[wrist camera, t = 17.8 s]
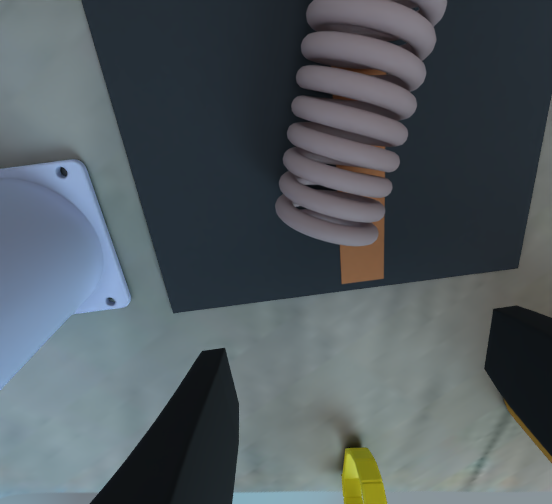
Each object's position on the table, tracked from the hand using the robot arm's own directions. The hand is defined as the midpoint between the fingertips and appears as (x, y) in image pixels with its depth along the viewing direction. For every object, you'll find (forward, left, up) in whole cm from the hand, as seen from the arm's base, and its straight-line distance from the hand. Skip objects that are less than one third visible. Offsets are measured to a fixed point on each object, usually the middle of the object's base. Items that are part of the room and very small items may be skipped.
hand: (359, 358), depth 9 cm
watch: (+2, -19, -10) cm, 21 cm away
